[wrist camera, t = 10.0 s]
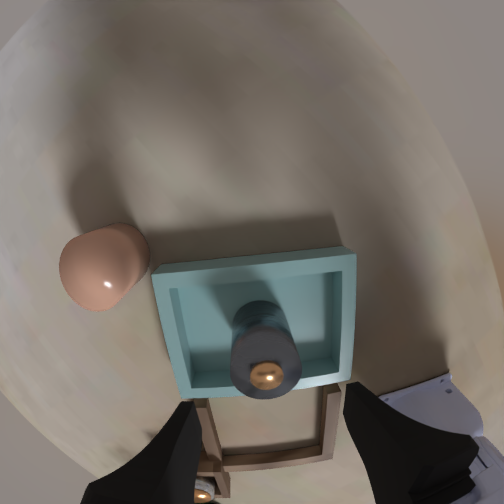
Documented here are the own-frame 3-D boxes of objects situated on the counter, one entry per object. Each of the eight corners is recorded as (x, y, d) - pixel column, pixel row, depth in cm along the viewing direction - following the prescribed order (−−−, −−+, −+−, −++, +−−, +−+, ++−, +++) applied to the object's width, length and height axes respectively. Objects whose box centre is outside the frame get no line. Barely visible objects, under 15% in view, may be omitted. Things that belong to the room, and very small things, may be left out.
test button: (211, 469, 23) (210, 489, 20) (217, 485, 24) (216, 504, 21) (177, 468, 23) (174, 488, 20) (185, 484, 24) (183, 503, 21)
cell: (286, 297, 21) (303, 342, 14) (287, 345, 21) (302, 399, 15) (229, 302, 20) (225, 350, 14) (235, 350, 21) (233, 406, 15)
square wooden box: (221, 450, 24) (221, 472, 21) (230, 478, 26) (230, 497, 23) (165, 449, 24) (161, 470, 21) (180, 477, 26) (177, 496, 23)
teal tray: (343, 245, 20) (356, 253, 18) (340, 362, 22) (350, 379, 20) (161, 264, 20) (151, 274, 18) (185, 379, 22) (181, 398, 20)
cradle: (336, 381, 23) (341, 391, 21) (329, 449, 25) (332, 458, 24) (194, 397, 23) (191, 408, 21) (214, 462, 25) (213, 472, 23)
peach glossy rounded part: (144, 219, 19) (116, 229, 14) (155, 282, 20) (132, 310, 15) (89, 227, 19) (52, 239, 14) (101, 286, 20) (69, 312, 15)
